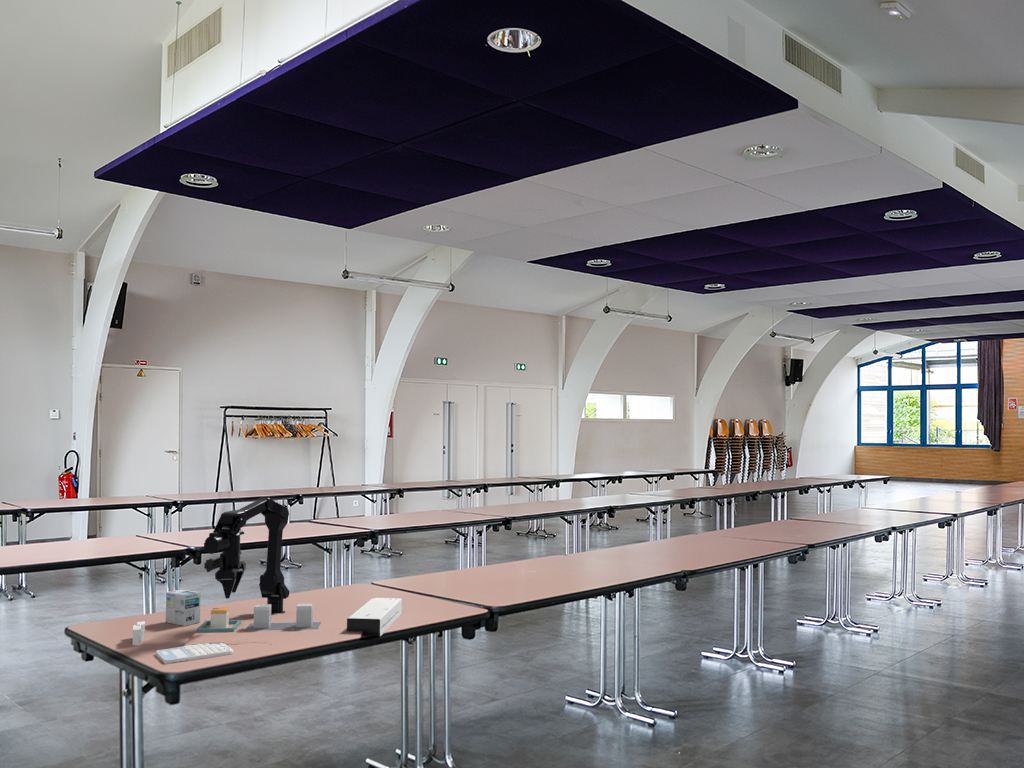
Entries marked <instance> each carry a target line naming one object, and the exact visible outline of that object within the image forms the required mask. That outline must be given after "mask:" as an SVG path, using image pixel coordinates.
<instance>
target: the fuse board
mask: <svg viewBox="0 0 1024 768" xmlns="http://www.w3.org/2000/svg"><path fill="white" fill-rule="evenodd" d="M321 624H322V621H313V625H312V627H296V622H271V626H270V627H269V628H254V622H252V623H250V622H249V624H248V625H247V626H246V628H244V630H243V631H249V632H250V631H252V632H253V631H290V630H292V631H293V630H294V631H295V630H298V631H299V630H318V629H319V627H320V626H321Z"/></svg>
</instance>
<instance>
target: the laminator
mask: <svg viewBox="0 0 1024 768" xmlns="http://www.w3.org/2000/svg"><path fill="white" fill-rule="evenodd" d="M402 614H403V598H400V597H372V598H371V599H369V600H368V601H367V602H366V603H365V604H364V605H362V606H361V607H360V608H359V609H357V610H356V611H355V612H354V613H352V614H351V615H350V616H349V617H347V618H346V632H350V633H351V632H353V633H354V632H355V633H357V632H358V633H359V632H360V633H361V634H360V637H361V636H362V637H381V636H382V635H383V634H384V633H385V632H386V631H387V630H388V629H389V628H390V627H391V626H392V625H393V624H394V623H395V622H396V621H397V620H398V619H399V618H400V617H401V616H402ZM400 615H401V616H400ZM399 616H400V617H399ZM398 617H399V618H398ZM397 618H398V619H397ZM396 619H397V620H396ZM395 620H396V621H395ZM394 621H395V622H394ZM393 622H394V623H393ZM392 623H393V624H392ZM391 624H392V625H391ZM384 631H385V632H384ZM383 632H384V633H383Z"/></svg>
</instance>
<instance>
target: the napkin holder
mask: <svg viewBox="0 0 1024 768" xmlns="http://www.w3.org/2000/svg"><path fill="white" fill-rule="evenodd" d="M145 633H146V621H145V620H143V621H136V624H134V625H133V626H132V646H133V645H135V646H141V645H142V641H144V640H143V639H145V638H146V637H145V636H146V635H145Z"/></svg>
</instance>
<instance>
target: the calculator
mask: <svg viewBox="0 0 1024 768" xmlns="http://www.w3.org/2000/svg"><path fill="white" fill-rule="evenodd" d="M233 654H234V649H233V647H230V646H229V645H228V644H226V643H225V642H204V643H198V644H192V645H185V646H177V647H170V648H165V649H158V650H156V651H155V655H156V657H157V658H158V659H159V658H160V659H161V660H162V661H163V662H165V663H170V664H172V663H171V662H177V663H181V662H180V661H184V662H187V661H186V660H190V661H196V659H197V660H202V659H203V660H204V659H208V658H216V657H223V656H229V655H233ZM160 659H159V660H160ZM161 660H160V661H161ZM162 661H161V662H162ZM163 662H162V663H163ZM165 663H164V664H165Z"/></svg>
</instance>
